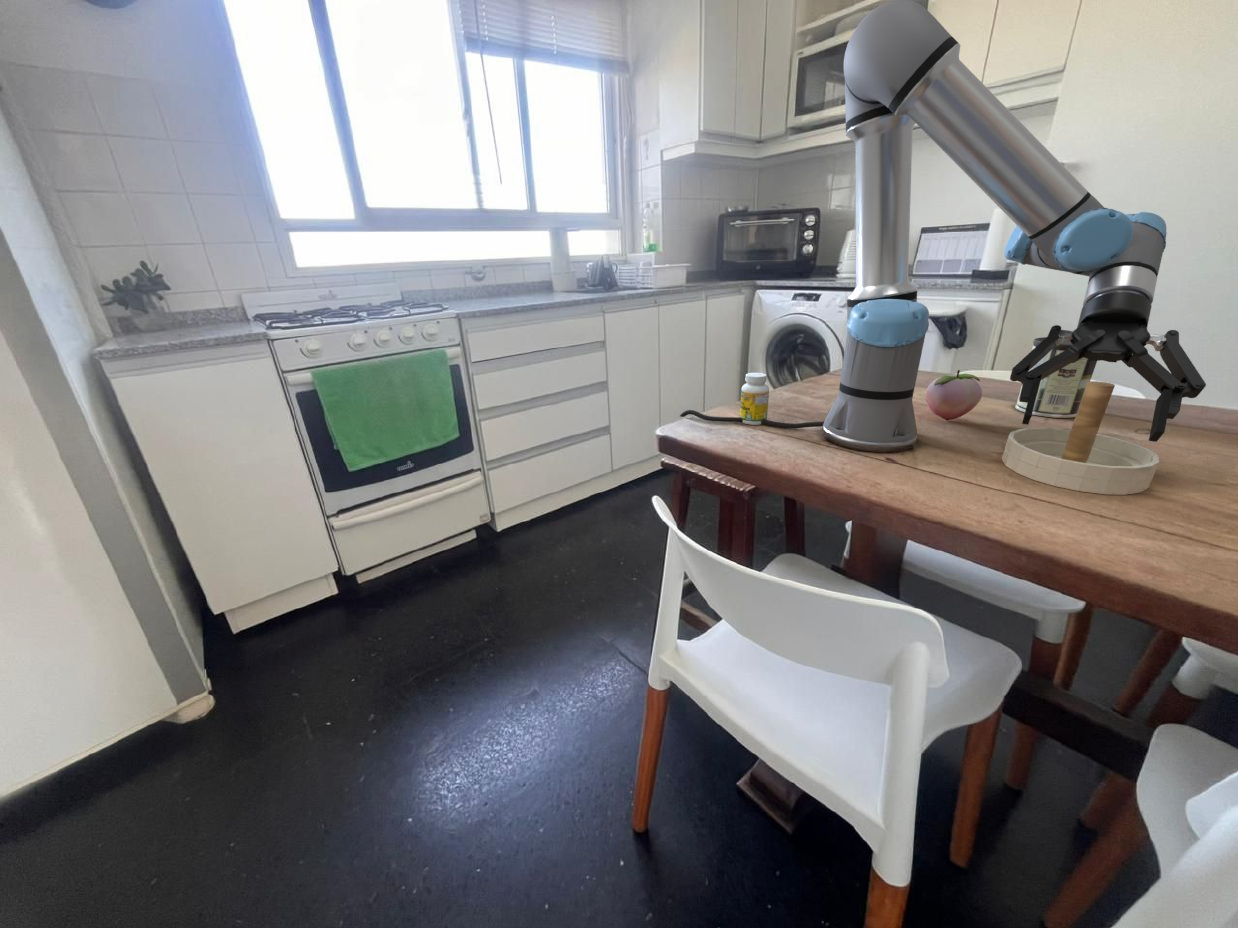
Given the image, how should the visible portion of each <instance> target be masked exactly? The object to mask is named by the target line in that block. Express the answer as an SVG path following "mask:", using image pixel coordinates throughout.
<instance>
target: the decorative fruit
mask: <svg viewBox="0 0 1238 928" xmlns="http://www.w3.org/2000/svg"><path fill="white" fill-rule="evenodd" d="M980 380H981V379H980V378H979V377H978V376H976V375H974V374H970V373H960V369H958V370H957V371H956V374H950V375H949V374H948V375H943V376H940V377H937V378H936V379H934V380H933V381H931V382H930V384H929V385H928V386H927V388H926V392H925V401H926V404H927V406H928V408H929V409H930V411H931V412H932V413H933V414H934V415H936V416H937V417H939V418H941V419H943V420H944V421H952V420H955V419H958V418H961V417H962V416H963V417H964V415H966V414H968V413H969V412H971V411H972V410H973V409H974V408H976V406H977V405H978V404H979V403H980V402H981V399H982V397H983V389H982V387H981V385H980V384H979V383H978V382H980ZM977 381H978V382H977Z"/></svg>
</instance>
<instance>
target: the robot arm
mask: <svg viewBox="0 0 1238 928" xmlns="http://www.w3.org/2000/svg"><path fill="white" fill-rule="evenodd" d="M960 51H961V44H960V43H959V41H957V39H955V38H954V37H953V36H952V34H950V32H949V31H948V30H946V28H945V26H943V25H942V24H941V23H940V21H938V19H937V18H936V17H935V16H934V15H933V14H932V13H931V12H930V11H929V10H928V9H927V8H926V7H925V6H923V5H922V4H920V3H918V2H916V1H914V0H891V1H886V2H885V3H882V4H880V5H879V6H877V7H875V8H874V9H872V10H871V11H870V12H869V13H867V15H866V16H865V17H864V18H863V19H862V20H861V21H860V22H859V23H858V25H857V26H856V27H855V29H854V31H853V32H852V33H851V36H850V38H849V40H848V42H847V44H846V49H845V52H844V55H843V56H844V57H843V75H844V76H843V77H844V96H845V136H846V137H847V138H849V139H850V140H851V141H852V142H854V144H855V287H854V289H853V290H852V292H851V293H850V294H849V295H848V296H847V297H846V319H847V320H846V338H845V347H844V353H843V360H842V366H841V373H840V380H839V387H838V393H837V396H836V397H835V399H834V402H833V403H832V406H831V407H830V409H829V411H828V413H827V415H826V417H825V420H824V421H823V420H821V421H808V422H807V421H806V422H798V423H796V422H795V423H791V422H790V423H789V422H780V421H774V420H769V419H767V420H762V421H761V424H760V425H766V426H770V427H776V428H784V429H803V428H804V429H805V428H817V427H822V430H821V431H822V432H821V434H822V437H823V438H824V439H826V440H827V441H829V442H830V443H833V444H835V445H837V446H839V447H844V448H847V449H852V450H856V451H863V452H871V453H874V452H875V453H895V452H896V453H897V452H903V451H906V450H909V449H912V448H913V447H914V445H915V444H916V442H917V438H918V428H917V427H918V426H917V421H916V416H915V410H914V403H913V397H914V392H915V388H916V382H917V379H918V372H919V369H920V364H921V358H922V353H923V348H924V343H925V340H926V339H925V338H926V334H927V333H928V331H929V327H930V323H929V317H930V311H929V309H928V307H927V306H926V305H925V304H924V303H921V302H918V288H917V286H916V285H914V284H913V283H912V282H910V280H909V259H910V231H911V230H910V228H911V227H910V226H911V199H912V197H911V196H912V195H911V192H912V167H913V166H912V165H913V162H912V161H913V131H914V128H915V126H916V125H917V126H918V127H919V128H920V129H921V130H922V131H923V132H924V133H925V134H926V136H928V137H929V138H930V139H931V140H932V141H933V142H934V143H935V144H936V145H937V146H938V147H939V149H941V150H942V151H943V152H944V154H946V156H948V157H949V158H950V159H951V160H952V161H953V162H954V163H955V164H956V165H957V166H958V168H959V169H961V170H962V172H963V173H964V174H965V175H966V176H967V177H968V178H970V179H971V180H972V182H973V183H975V185H976V186H978V188H979V189H980V190H981V191H982V192H983V193H984V194H985V195H986V196H987V197H988V198H989V199H990V200H991V201H992V202H993V203H994V204H996V206H997V207H998V208H999V209H1000V210H1001V211H1002V212H1003V213H1004V214H1005V215H1006V216H1007V217H1008V218H1009V219H1010V220H1011V221H1012V222H1013V223H1014V224H1015V227H1014V229H1013V231H1012V232H1011V234H1010V236H1009V237H1008V240H1007V243H1006V244H1005V245H1006V246H1005V248H1004V257H1005V259H1006V260H1007V261H1011V262H1014V263H1015V262H1016V263H1020V264H1021V265H1024V266H1025V265H1028V266H1034V267H1039V268H1044V269H1049V270H1054V271H1060V272H1065V273H1071V274H1073V275H1080V276H1085V277H1088V281H1087V287H1086V290H1085V295H1084V298H1083V303H1082V307H1081V309H1080V310H1081V311H1080V315H1079V318H1078V321H1077V326H1076V328H1075V329H1073V330H1066V329H1062V326H1061V325H1059V324H1055V325H1052V326H1051V327H1050V329H1049V332H1048V334H1047V336H1045V337H1046V338H1045V339H1044V340H1043V341H1042V342H1041V343H1040V344H1039V345H1038V346H1036V347H1035V348H1034V349H1033V350H1032V349H1031V351H1030V352H1028V353H1027V355H1025V356H1024V357H1023V358H1022V359H1021V360H1020V361H1019V362H1018V363H1017V364H1015V365H1014V366H1013V367H1012V368H1011V372H1010V377H1009V381H1011V382H1019V383H1021V387H1022V390H1021V389H1020V390H1021V393H1020V392H1019V394H1020V397H1019V396H1018V397H1019V401H1020V402H1026V403H1027V407H1026V411H1025V412H1024V415H1023V419H1022V421H1021V424H1022V425H1029V423H1030V421H1031V418H1032V415H1033V414H1032V412H1033V408H1034V404H1035V401H1036V397H1037V393H1038V389H1039V385H1040V382H1041V380H1042V379H1044V378H1046V377H1047V376H1049V375H1051V374H1053V373H1054V372H1056V371H1058V370H1060V369H1061V368H1063V367H1065V366H1067V365H1069V364H1070V363H1075V362H1076V361H1078V360H1080V359H1082V358H1083V357H1084V358H1087V359H1088V361H1097V362H1099V361H1100V362H1101V361H1103V362H1107V363H1117V362H1122V363H1123V364H1125V366H1126V367H1128V368H1132V369H1133V370H1134V371H1135V372H1136V373H1138V374H1139V376H1141V377H1142V378H1143V379H1144V380H1145V381H1146V382H1147V383H1148V384H1150V386H1152V388H1154V389H1155V390H1156V391H1157V392H1158V393H1159V396H1158V397H1157V399H1156V400H1155V401H1156V402H1155V406H1154V410H1153V411H1154V412H1153V415H1152V421H1151V426H1150V431H1149V437H1148V442H1155V443H1157V442H1158V441H1159V439H1160V438H1161V437H1162V436H1163V435H1164V434H1165V431H1166V427H1167V421H1168V420H1173V419H1175V417H1176V416H1177V415H1178V414H1179V413H1180V411H1181V407H1182V402H1183V399H1184V398H1188V399H1196V398H1197V397H1198V396H1200V394H1201V393H1202V391H1204V389H1205V388H1206V387H1207V383H1206V382H1205V380H1204V379H1203V377H1202V376H1201V374H1200V372H1199V371H1198V370H1197V368H1196V366H1195V365H1194V363H1193V362H1192V361H1191V359H1190V358H1189V356H1188V354H1187V353H1186V352H1185V350H1184V348H1183V346H1182V345H1181V344H1180V333H1179V331H1178V330H1176V329H1170V330H1168V331H1166V333H1164V334H1163V333H1162V334H1161V333H1157V334H1150V332H1149V330H1148V326H1149V321H1150V316H1151V311H1152V304H1153V302H1154V296H1155V292H1156V287H1157V280H1158V276H1159V271H1160V267H1161V263H1162V258H1163V253H1164V252H1165V249H1166V247H1167V235H1168V233H1167V223H1166V221H1165V220H1164V218H1162V216H1160V215H1158V214H1156V213H1153V212H1148V211H1140V212H1138V213H1126V214H1125V213H1124V212H1121V211H1119V210H1116V209H1114V208H1108V207H1105V206H1104V205H1103V204H1101V202H1100V201H1099V200H1098V199H1097V197H1095V196H1093V195H1092V194H1091V193H1090V192H1089V191H1088V189H1086V188H1085V187H1084V185H1083V184H1082V183H1081V182H1079V180H1078V179H1077V178H1076V177H1075V176H1074V175H1073V174H1072V173H1071V172H1070V171H1069V170H1068V169H1067V168H1066V167H1065V166H1064V165H1063V164H1062V163H1061V162H1060V161H1059V160H1058V158H1056V157H1055V155H1053V154H1052V153H1051V152H1050V151H1049V149H1048V148H1047V147H1046V146H1045V145H1043V144H1042V142H1041V141H1040V140H1039V139H1037V137H1036V136H1035V135H1034V134H1033V133H1032V132H1031V131H1030V130H1029V129H1028V128H1027V127H1026V126H1025V125H1024V124H1023V123H1022V122H1021V121H1020V120H1019V118H1017V117H1016V116H1015V115H1014V114H1013V113H1012V112H1011V111H1010V110H1009V109H1008V108H1007V106H1006V105H1004V103H1002V102H1001V101H1000V100H999V99H998V97H997V96H995V94H994V93H993V92H992V91H991V90H990V89H989V88H988V87H987V86H986V85H985V84H984V83H983V82H982V81H981V80H980V79H979V78H978V77H977V76H976V75H975V74H974V73H973V72H972V71H971V70H970V69H969V68H968V67H967V66H966V64H964V62H963V61H961V60H960ZM1065 340H1070V342H1071V343H1072V346H1070V347H1069V348H1068V349H1067V350H1065V351H1063V352H1062V353H1060V354H1058V355H1056V356H1055V357H1053V358H1051V359H1049V360H1048V361H1046V362H1044V363H1042V364H1041V365H1039V366H1037V367H1035V368H1034V369H1032V370H1030V369H1031V368H1032V367H1034V366H1035V365H1036V364H1037V363H1038V362H1039V361H1040V360H1041V359H1042V358H1043V357H1044V356H1046V355H1047V354H1048V353H1049V352H1050V351H1051V350H1052V349H1053V347H1054V346H1055V345H1059V344H1061V343H1062V342H1063V341H1065ZM1147 345H1151V346H1152V347H1153V348H1154V351H1155V352H1159V356H1160V358H1161V360H1162V361H1163V362H1164V365H1165V366H1166V367H1167V368H1165V367H1164V366H1163V365H1162V364H1161V363H1160V362H1159V361H1157V360H1156V359H1155V358H1154V357H1153V356H1152V355H1150V353H1149V350H1148V349H1147V347H1146V346H1147ZM1029 370H1030V371H1029ZM688 415H692V416H695V417H697V418H699V419H700V420H704V421H709V422H718V423H742V422H743V419H742V418H741V417H740V416H738V417H737V416H732V417H731V416H711V415H706V414H703V413H701V412H698V411H696V410H693V409H687V410H685V411H683V412H682V413H681V414H679V417H680V418H684V417H687V416H688Z"/></svg>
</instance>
